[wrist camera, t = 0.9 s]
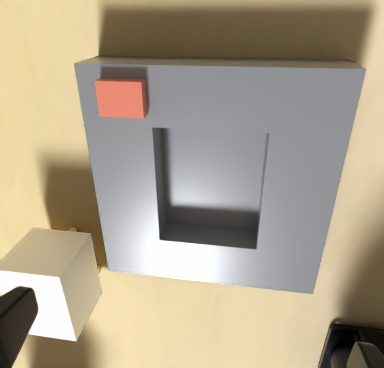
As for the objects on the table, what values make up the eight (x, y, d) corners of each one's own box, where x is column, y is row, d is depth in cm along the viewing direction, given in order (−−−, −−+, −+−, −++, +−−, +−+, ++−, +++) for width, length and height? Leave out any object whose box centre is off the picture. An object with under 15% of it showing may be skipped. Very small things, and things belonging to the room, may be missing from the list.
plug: (109, 279, 28) (76, 341, 23) (59, 273, 29) (16, 332, 23) (99, 221, 25) (59, 277, 20) (44, 216, 26) (-9, 269, 21)
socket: (306, 262, 24) (314, 302, 21) (123, 244, 26) (104, 277, 23) (348, 59, 17) (370, 71, 14) (98, 55, 19) (67, 65, 16)
